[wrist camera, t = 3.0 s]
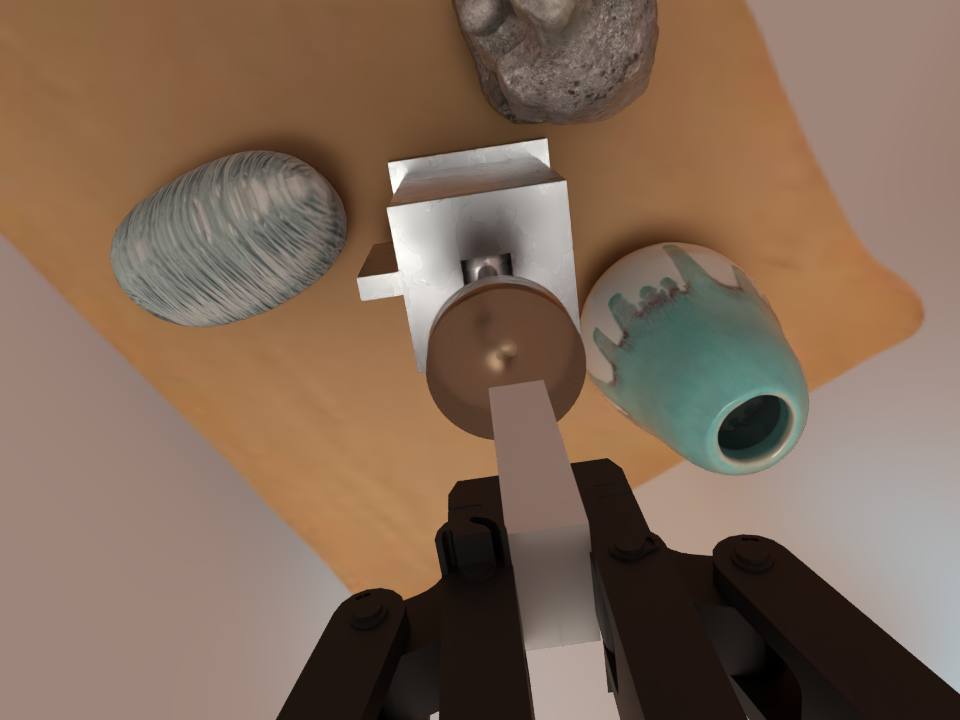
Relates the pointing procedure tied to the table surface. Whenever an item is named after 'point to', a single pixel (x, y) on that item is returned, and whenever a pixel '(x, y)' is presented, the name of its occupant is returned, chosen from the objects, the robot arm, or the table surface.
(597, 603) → the robot arm
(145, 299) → the striped grey egg shape
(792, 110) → the table surface
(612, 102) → the figurine
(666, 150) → the table surface
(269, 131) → the table surface
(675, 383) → the vase
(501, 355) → the plunger
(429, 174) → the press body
